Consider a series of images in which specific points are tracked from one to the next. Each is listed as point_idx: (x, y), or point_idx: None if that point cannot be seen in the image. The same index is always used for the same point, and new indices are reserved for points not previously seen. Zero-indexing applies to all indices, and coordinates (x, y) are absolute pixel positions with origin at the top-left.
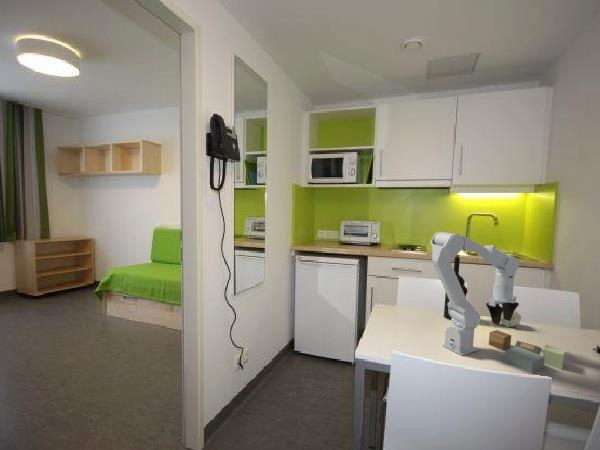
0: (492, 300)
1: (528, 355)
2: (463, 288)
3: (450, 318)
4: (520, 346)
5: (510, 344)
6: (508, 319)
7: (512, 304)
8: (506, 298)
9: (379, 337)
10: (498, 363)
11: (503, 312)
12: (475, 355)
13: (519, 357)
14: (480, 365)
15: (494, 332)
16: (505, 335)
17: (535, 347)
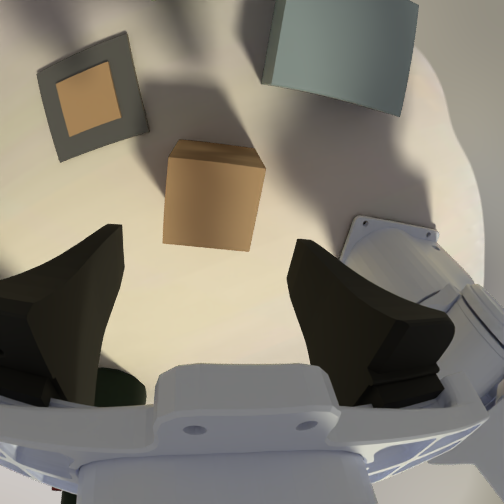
0: (463, 438)
1: (359, 18)
2: None
3: (142, 390)
4: (121, 115)
5: (177, 143)
6: (119, 239)
7: (53, 343)
8: (362, 489)
9: None
10: (408, 122)
11: (109, 313)
12: (404, 203)
13: (411, 53)
14: (460, 165)
15: (227, 234)
16: (212, 176)
17: (61, 78)
